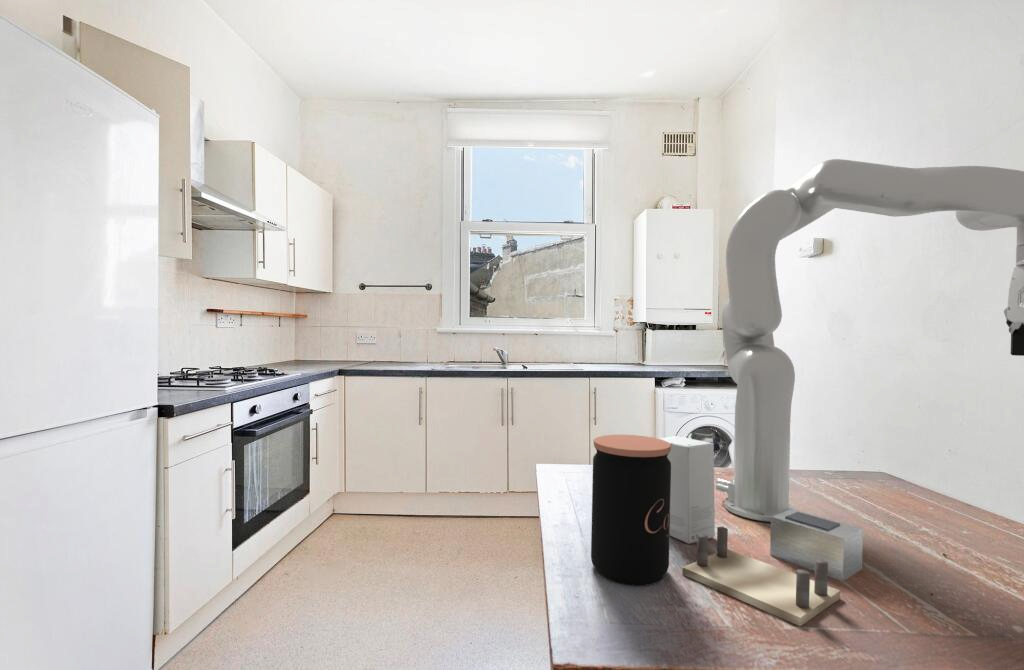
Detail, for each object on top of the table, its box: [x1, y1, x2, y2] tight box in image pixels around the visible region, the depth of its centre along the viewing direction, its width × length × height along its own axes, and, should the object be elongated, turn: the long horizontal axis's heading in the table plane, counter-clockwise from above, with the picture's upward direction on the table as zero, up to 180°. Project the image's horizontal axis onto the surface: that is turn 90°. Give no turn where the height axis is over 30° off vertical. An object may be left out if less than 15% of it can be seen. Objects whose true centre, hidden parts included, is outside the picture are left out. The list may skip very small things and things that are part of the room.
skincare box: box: [658, 435, 716, 544], centre depth 87 cm, size 8×7×16 cm
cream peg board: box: [681, 526, 841, 627], centre depth 69 cm, size 16×11×5 cm
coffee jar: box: [590, 434, 671, 587], centre depth 73 cm, size 11×11×18 cm
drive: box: [769, 509, 864, 582], centre depth 77 cm, size 10×6×6 cm, turn 37°
